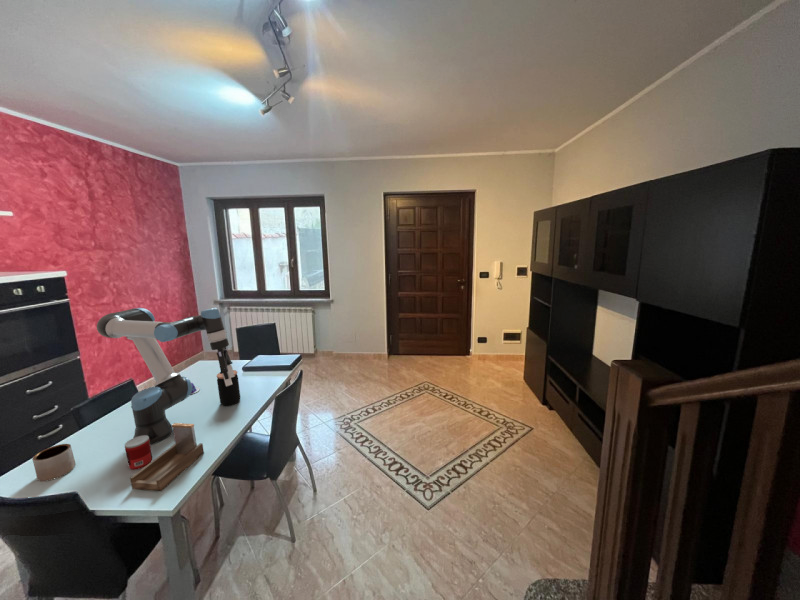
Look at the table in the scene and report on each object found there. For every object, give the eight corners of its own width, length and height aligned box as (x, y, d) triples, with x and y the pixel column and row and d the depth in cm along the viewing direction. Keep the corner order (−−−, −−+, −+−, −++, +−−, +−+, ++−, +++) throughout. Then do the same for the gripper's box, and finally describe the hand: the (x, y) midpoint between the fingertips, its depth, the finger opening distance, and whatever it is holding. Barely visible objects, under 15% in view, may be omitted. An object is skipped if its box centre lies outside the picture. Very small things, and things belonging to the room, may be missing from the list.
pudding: (185, 388, 204) (183, 381, 203) (204, 387, 205) (202, 380, 204) (173, 397, 192) (172, 389, 192) (193, 396, 193) (192, 388, 192)
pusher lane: (132, 489, 119) (130, 478, 119) (179, 451, 141) (177, 441, 140) (161, 491, 118) (159, 480, 117) (203, 453, 139) (202, 443, 138)
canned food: (157, 459, 136) (153, 436, 134) (137, 471, 129) (133, 448, 126) (144, 456, 138) (140, 433, 136) (124, 468, 131) (119, 445, 129)
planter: (76, 471, 130) (71, 450, 128) (37, 486, 122) (31, 464, 120) (75, 459, 137) (70, 440, 135) (37, 473, 129) (32, 452, 127)
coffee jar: (244, 397, 189) (241, 370, 186) (233, 406, 179) (229, 377, 175) (228, 397, 190) (224, 369, 187) (216, 406, 180) (212, 377, 177)
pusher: (176, 453, 138) (171, 425, 135) (179, 451, 139) (174, 422, 137) (195, 455, 137) (190, 426, 134) (198, 452, 138) (193, 424, 136)
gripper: (224, 342, 140) (237, 385, 143) (229, 333, 162) (240, 371, 165) (205, 347, 137) (218, 391, 140) (213, 338, 159) (224, 376, 162)
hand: (230, 381), depth 153 cm, fingers open, 13 cm apart
